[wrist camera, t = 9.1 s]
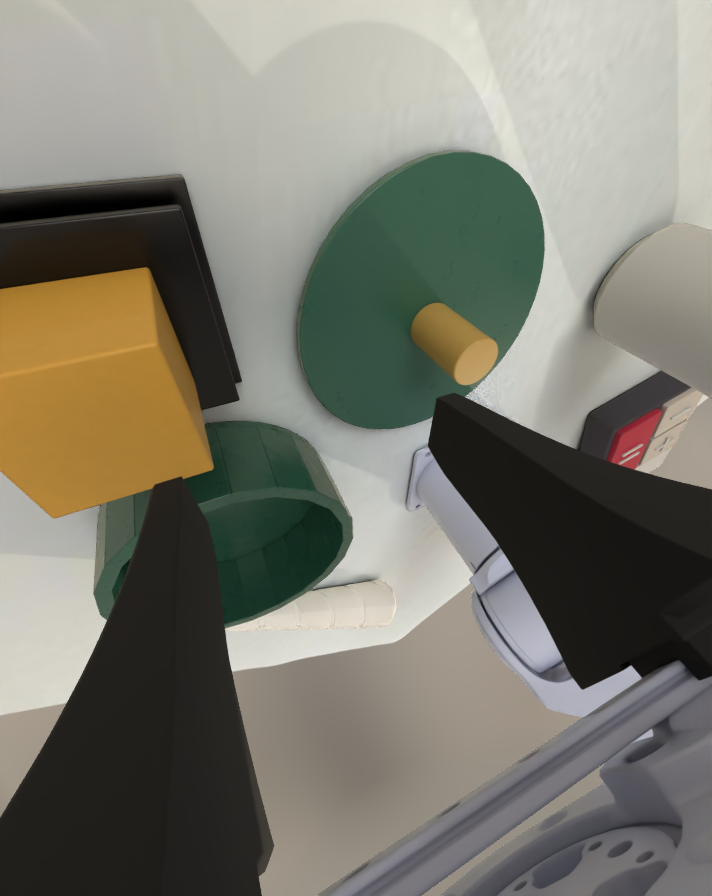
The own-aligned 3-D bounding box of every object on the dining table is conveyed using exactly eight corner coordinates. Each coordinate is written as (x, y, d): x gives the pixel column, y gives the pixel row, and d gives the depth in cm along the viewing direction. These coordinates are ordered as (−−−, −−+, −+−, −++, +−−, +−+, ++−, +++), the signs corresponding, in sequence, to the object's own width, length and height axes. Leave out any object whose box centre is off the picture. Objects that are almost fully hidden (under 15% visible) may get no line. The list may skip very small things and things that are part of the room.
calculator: (718, 378, 34) (666, 467, 45) (673, 357, 37) (635, 445, 48) (620, 435, 34) (592, 511, 45) (582, 409, 37) (565, 487, 48)
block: (148, 265, 11) (158, 342, 8) (195, 382, 14) (215, 470, 11) (-23, 291, 10) (-91, 393, 7) (69, 412, 13) (52, 520, 10)
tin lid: (571, 137, 17) (679, 153, 13) (491, 388, 27) (541, 431, 24) (267, 162, 13) (315, 194, 10) (308, 444, 23) (338, 506, 20)
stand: (182, 173, 12) (191, 189, 10) (239, 375, 18) (251, 405, 16) (-127, 201, 10) (-175, 226, 8) (53, 420, 16) (45, 460, 14)
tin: (315, 393, 20) (351, 454, 17) (329, 522, 30) (354, 576, 27) (41, 467, 17) (22, 562, 14) (158, 587, 27) (162, 659, 23)
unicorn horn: (165, 592, 27) (170, 658, 24) (386, 571, 43) (407, 610, 39) (148, 625, 29) (151, 690, 26) (365, 594, 45) (383, 632, 42)
